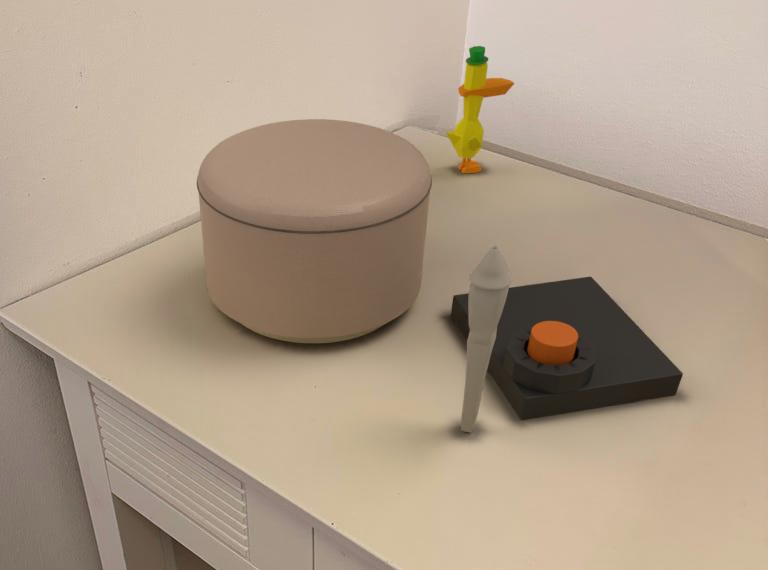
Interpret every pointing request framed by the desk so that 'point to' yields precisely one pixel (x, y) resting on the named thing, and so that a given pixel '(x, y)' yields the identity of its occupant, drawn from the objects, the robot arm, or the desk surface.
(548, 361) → the button
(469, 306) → the pen
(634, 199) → the desk surface
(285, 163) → the container
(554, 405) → the orange button pad
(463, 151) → the toy figure
